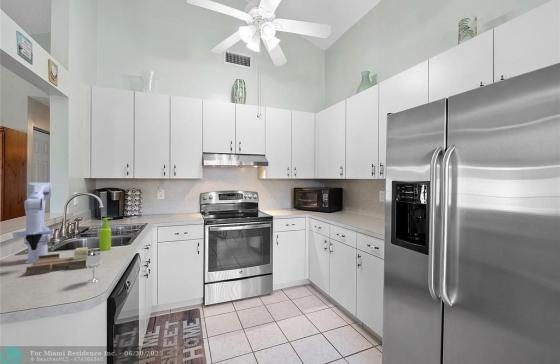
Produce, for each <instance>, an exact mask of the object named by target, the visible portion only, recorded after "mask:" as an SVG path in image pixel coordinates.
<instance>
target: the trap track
mask: <svg viewBox="0 0 560 364" xmlns="http://www.w3.org/2000/svg"><path fill="white" fill-rule="evenodd" d="M94 251H95V249H94V248H91V249H90V250H89V249H88V254H91V253H95V252H94ZM86 268H87V267H86V259H81V260H74V256H71V257H70V256H69V257H61V258H60V253H51V254H48V255H42V256H39V259H38V260H37V261H36V262H33V263H32V264H31V266H26V268H25V269H26V270H25V271H26V277H27V276H28V277H29V276H33V275H42V274H43V275H44V274H49V273H51V272H60V271H67V270H68V271H71V270H78V269H86ZM87 269H88V268H87Z"/></svg>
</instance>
